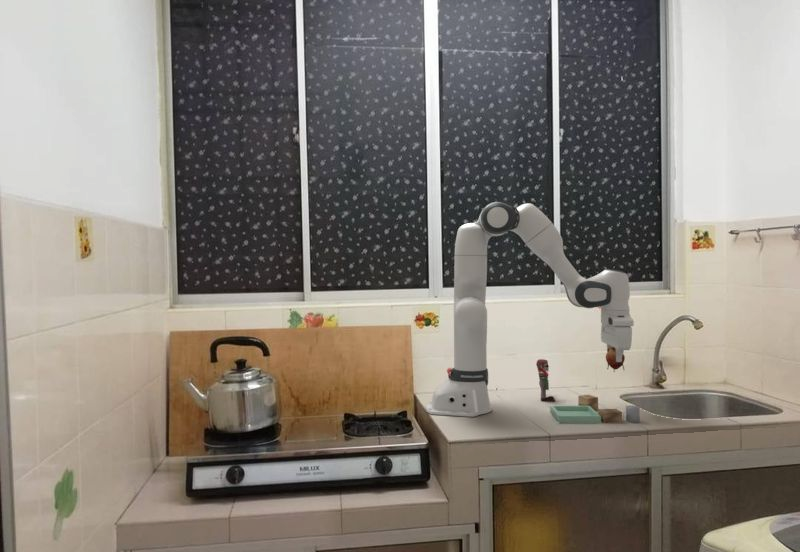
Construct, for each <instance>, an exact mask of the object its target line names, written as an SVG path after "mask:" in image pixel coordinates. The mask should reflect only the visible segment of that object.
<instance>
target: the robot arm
mask: <svg viewBox="0 0 800 552" xmlns="http://www.w3.org/2000/svg"><path fill="white" fill-rule="evenodd" d="M508 232H514V233H515V234H517V235H518V236H519V237H520V238H521V240H522V241H523V242H524V243H525V245H526V246H527V248H528V249H530V251H531V252H533V253H534V254H535V256H537V257H538V258H539V259H541V261H543V262H544V263H545V264H546V265H548V266H549V268H550V269H551V270H552V271H553V272H554V274H555V275H556V277H557V278H558V279H559V281H560V282H561V284H562V285H563V287H564V290H565V294H566V296H567V299H568V301H569V302H570V303H571V305H573V306H575V307H578V308H584V309H593V308H594V309H595V308H599V307H600V324H601V328H600V341H601V343H604V344H606V350H607V349H608V348H611V347H614V348H616V356H615V361H616V362H622V356H623V354H624V351H629V350H631V347H632V339H633V328H632V327H634V319H633V318H632V316H631V313H630V310H631V309H630V306H629V300H630V280H629V276H628V274H627V273H626V272H624V271H622V270H617V269H610V268H607V269H603V271H601V272H600V273H597V274H596V275H594V276H591V277H589V278H585V277H584V276H582V275H581V274H579V272H578V271H577V270H576V269H575V267H574V266H573V265H572V263H571V262H570V261H569V259H568V258H567V257H566V254H565V253H564V245H563V244H564V241H563V240H564V239H563V238H562V235H561V234H560V232H559V230H558V229H557V227H556V226H555V225H554V223H553V222H552V221H551V220H550V219H549V218H548V217H547V216H546V214H544V213H543V211H542V210H540V209H539V208H538V207H537V206H536V205H534V204H533V203H527V202H526V203H523V204H520V205H519V206H518V207H516V206H512V205H509V204H507V203H504V202H501V201H495V202H490V203H488V204H487V205H486V206H485V207H484V208H482V210H481V212H480V214H479V217H478V219H477V220H476V222H468V223H464V224H462V225H461V226H459V228H458V229H457V233H456V237H455V244H454V266H453V268H454V269H453V270H454V272H453V274H454V275H453V276H454V277H453V279H454V281H453V283H454V284H453V360H454V361H453V366H454V367H447V369H446V372H447V376H448V379H446V380H445V381H444V382H443V383H442V384H440V385H439V386H438V387H436V388H435V389H434V391H433V394H432V397H431V398H432V399H431V401H430V402H428V403H427V404H425V411H426V412H427V413H428V414H430V415H436V416H437V415H440V416H442V415H443V416H454V417H471V418H473V417H477V416H479V415H484V414H488V413H490V412H492V410H493V409H492V406H491V401H490V396H489V389H488V386H489V369H488V368H487V367H488V366H487V364H488V363H487V343H488V341H487V340H488V337H487V336H488V309H487V306H486V296H487V295H486V293H487V279H488V277H487V275H488V243H489V240H490V239H491V238H495V237H499V236H503V235H504V234H506V233H508ZM609 351H610V349H609Z"/></svg>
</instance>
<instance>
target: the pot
mask: <svg viewBox="0 0 800 552" xmlns="http://www.w3.org/2000/svg"><path fill="white" fill-rule="evenodd" d="M609 349H610V351H609ZM615 356H616V348H614V347H611V348H608V349H607V348H606V353H605V360H606V362H607V363H606V364H607V367H606V368H607V369H606V370H609V368H611V369H612V370H613V373H615V372H616V371H615V370H618V369H619V368H621V367H622V369H623V370H625V366H624V363H625V358H626V357H625V354H624V353H623V356H622V362H616V361H615ZM609 366H610V367H609Z"/></svg>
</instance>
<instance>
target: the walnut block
mask: <svg viewBox="0 0 800 552" xmlns="http://www.w3.org/2000/svg"><path fill="white" fill-rule="evenodd" d="M597 413H598V414H599V415H600V416H601V423H603V424H618V423H619V424H621V423H623V412H622V410H619V409H617V408H602V409H601V408H598V410H597Z"/></svg>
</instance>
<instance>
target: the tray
mask: <svg viewBox="0 0 800 552" xmlns="http://www.w3.org/2000/svg"><path fill="white" fill-rule="evenodd" d="M549 412H550V413H551V415H552V416H553V417H554V419H555V420H556V421H557V423H559V424H560V423H561V424H564V423H565V424H570V423H571V424H602V422H601V416H600V415H599V414H598V411H595V410H594V409H592V408H591V407H590V406H578V405H561V404H560V405H556V404H555V405H553V404H552V405H551V404H550V405H549Z"/></svg>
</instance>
